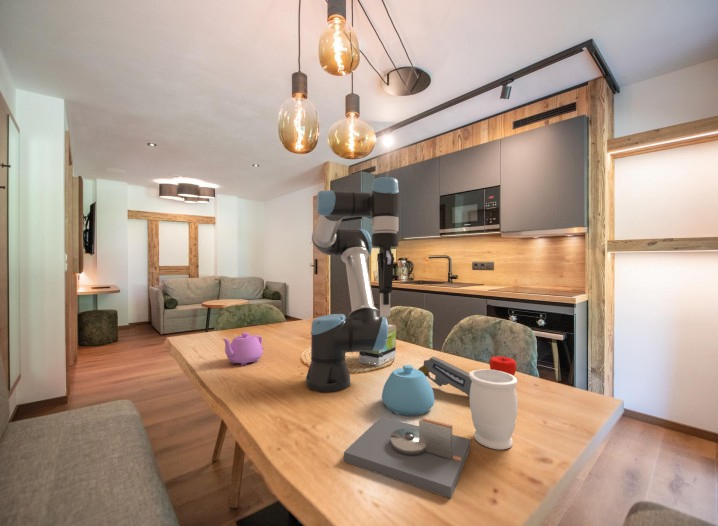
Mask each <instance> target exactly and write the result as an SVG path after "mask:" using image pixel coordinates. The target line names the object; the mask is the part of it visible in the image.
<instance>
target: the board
mask: <svg viewBox="0 0 718 526" xmlns="http://www.w3.org/2000/svg"><path fill="white" fill-rule="evenodd" d="M402 428H412V429H417V430H419V425H416V424H412V423H407V422H403V421H400V420H395V419H391V418H388V417H384V416H380V417H379V418H378V419H377V420H376V421H374V423H373V424H372V425H371V426H369V427H368V428H367V429H366V430H365V431H364V432H363V433H362V434H361V435H360V436H359V437H358V438H357V439H356V440H354V442H353V443H352V444H351V445H350V446H348V447H347V448H346V449H345V451H343V462H344V463H347V464H350V465H353V466H355V467H358V468H362V469H364V470H367V471H370V472H374V473H376V474H379V475H382V476H384V477H388V478H390V479H393V480H397V481H399V482H402V483H404V484H407V485H410V486H414V487H415V488H419V489H421V490H423V491H424V490H425V491H428V492H431V493H433V494H436V495H439V496H442V497H445V498H448V499H452V497H453V495H454V492H455V490H456V487H457V484H458V482H459V479H460V476H461V473H462V471H463V468H464V467H465V463H466V461H467V459H468V455H469V452H470V450H471V439H470V438H467V437H463V436H458V435H455V434H452V457H451V459H448V458H445V457H442V456H439V455H435V454H432V453H429V452H424V453H422V454H419V455H405V454H402V453H399V452H397V451H395V450H394V449H393V448H392V446H391V434H392V433H393V432H394V431H395V430H398V429H402Z"/></svg>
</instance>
